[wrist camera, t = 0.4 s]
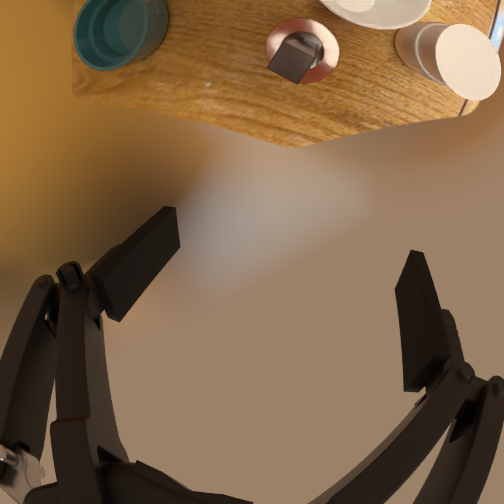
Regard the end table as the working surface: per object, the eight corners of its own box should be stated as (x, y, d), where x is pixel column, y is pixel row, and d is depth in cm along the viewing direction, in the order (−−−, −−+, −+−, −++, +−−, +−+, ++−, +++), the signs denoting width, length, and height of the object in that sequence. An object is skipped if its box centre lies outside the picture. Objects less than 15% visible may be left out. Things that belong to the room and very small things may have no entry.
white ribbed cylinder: (380, 45, 24) (418, 56, 14) (410, 12, 19) (463, 8, 9) (419, 81, 26) (470, 117, 16) (449, 50, 21) (512, 72, 11)
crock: (294, 12, 24) (286, 6, 18) (344, 40, 25) (353, 42, 19) (268, 55, 29) (253, 62, 23) (316, 81, 30) (316, 95, 24)
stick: (302, 36, 26) (282, 40, 12) (317, 44, 26) (315, 58, 12) (294, 49, 27) (266, 68, 13) (309, 57, 27) (297, 84, 14)
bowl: (114, -18, 21) (87, -17, 17) (184, -5, 24) (162, -8, 20) (92, 52, 30) (66, 61, 26) (153, 71, 33) (130, 81, 29)
